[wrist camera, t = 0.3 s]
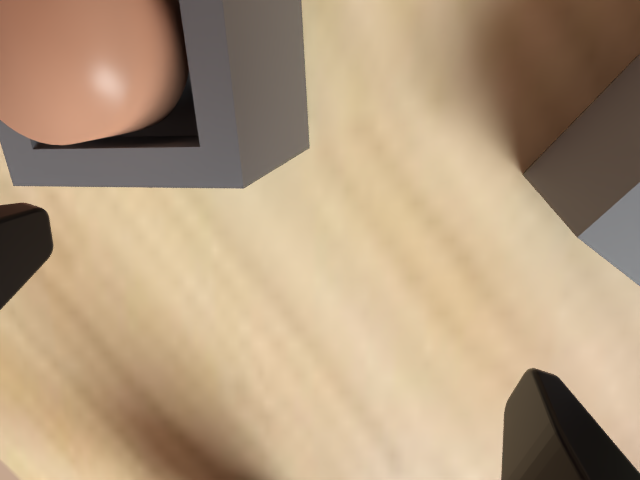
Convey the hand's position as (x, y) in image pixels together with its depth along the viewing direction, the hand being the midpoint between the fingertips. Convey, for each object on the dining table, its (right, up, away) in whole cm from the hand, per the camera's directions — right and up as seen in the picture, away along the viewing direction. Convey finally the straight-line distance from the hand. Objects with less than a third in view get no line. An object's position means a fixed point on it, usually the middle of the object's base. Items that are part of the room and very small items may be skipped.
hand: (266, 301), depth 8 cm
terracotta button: (-6, +7, +6) cm, 11 cm away
